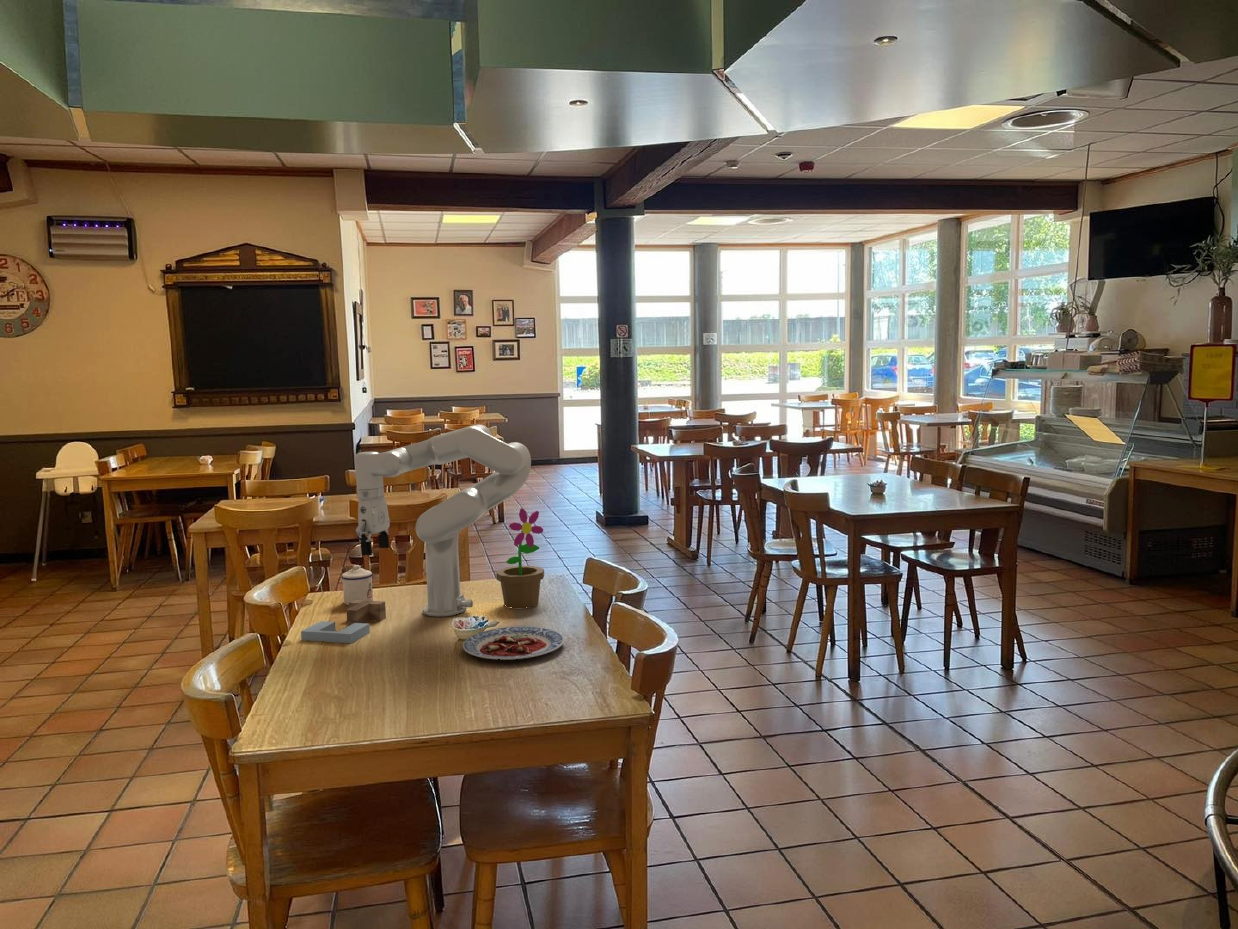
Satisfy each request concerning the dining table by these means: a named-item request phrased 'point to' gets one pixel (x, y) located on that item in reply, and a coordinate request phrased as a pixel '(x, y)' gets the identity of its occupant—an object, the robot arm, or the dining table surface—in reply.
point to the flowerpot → (522, 568)
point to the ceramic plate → (513, 643)
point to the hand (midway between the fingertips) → (375, 551)
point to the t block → (365, 611)
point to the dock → (334, 632)
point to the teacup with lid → (357, 585)
